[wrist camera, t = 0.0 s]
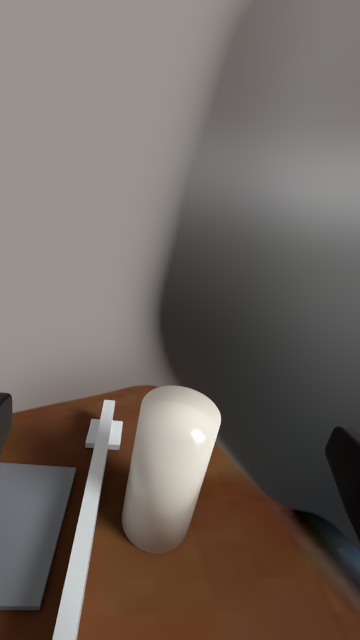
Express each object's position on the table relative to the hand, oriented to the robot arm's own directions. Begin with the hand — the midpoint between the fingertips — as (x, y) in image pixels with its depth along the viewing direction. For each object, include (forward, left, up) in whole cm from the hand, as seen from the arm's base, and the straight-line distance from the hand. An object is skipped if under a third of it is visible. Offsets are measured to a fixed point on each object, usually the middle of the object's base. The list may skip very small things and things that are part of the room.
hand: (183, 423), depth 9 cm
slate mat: (+8, +9, -16) cm, 20 cm away
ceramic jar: (+9, -2, -17) cm, 19 cm away
